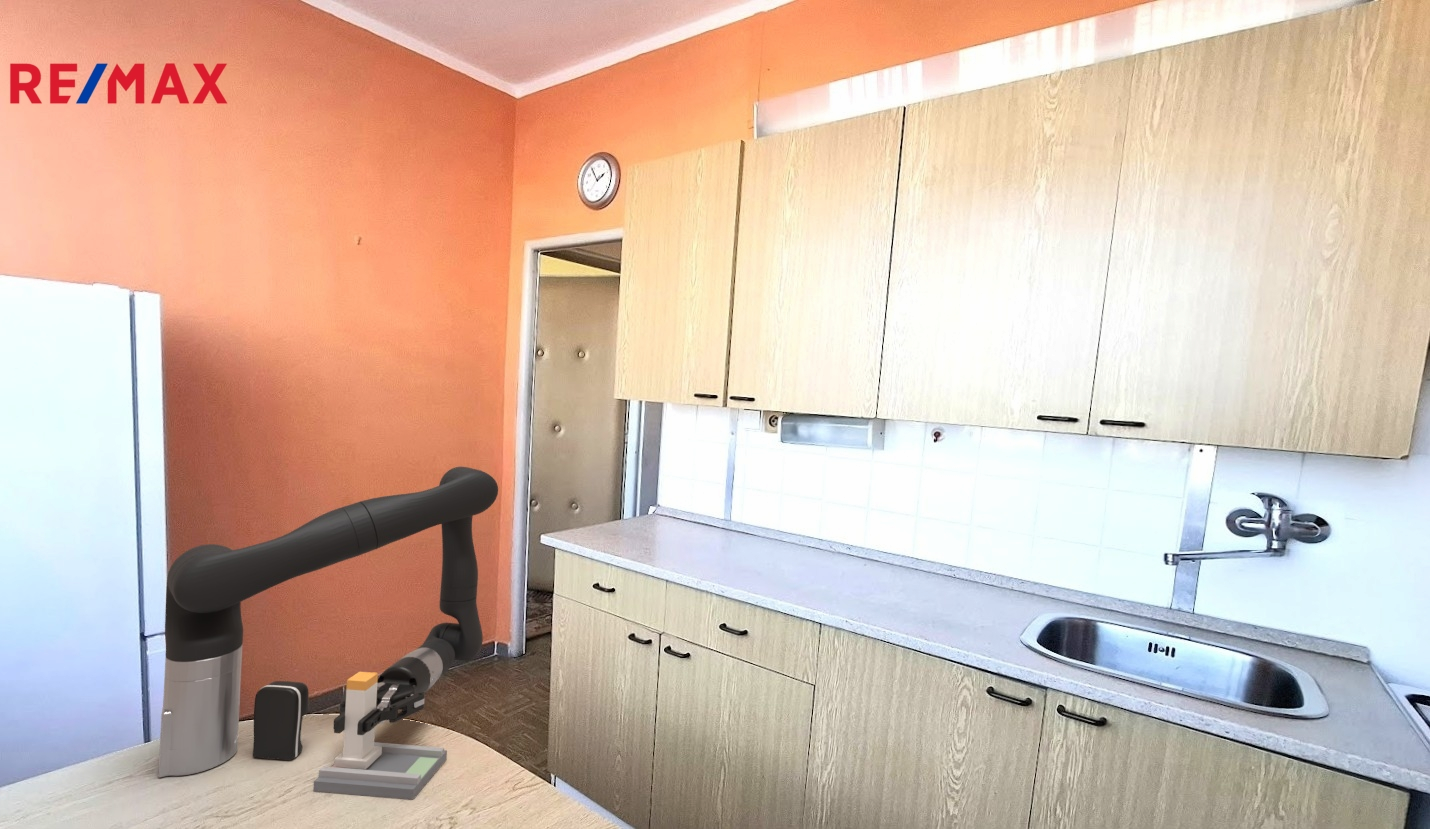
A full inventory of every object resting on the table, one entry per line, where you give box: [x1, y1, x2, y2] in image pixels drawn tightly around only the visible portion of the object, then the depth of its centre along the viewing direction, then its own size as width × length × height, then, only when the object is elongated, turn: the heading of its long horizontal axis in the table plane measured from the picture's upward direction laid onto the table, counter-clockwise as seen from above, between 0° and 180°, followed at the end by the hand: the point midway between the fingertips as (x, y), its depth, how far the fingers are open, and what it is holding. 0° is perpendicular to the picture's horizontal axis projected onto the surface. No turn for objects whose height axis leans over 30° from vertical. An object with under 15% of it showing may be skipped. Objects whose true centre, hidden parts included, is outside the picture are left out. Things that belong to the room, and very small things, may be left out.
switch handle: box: [333, 671, 382, 769], centre depth 92 cm, size 5×4×13 cm
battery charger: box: [252, 680, 310, 761], centre depth 96 cm, size 7×4×11 cm, turn 89°
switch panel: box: [312, 741, 448, 800], centre depth 92 cm, size 15×10×2 cm, turn 88°
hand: (348, 727), depth 89 cm, fingers closed on switch handle, 3 cm apart
